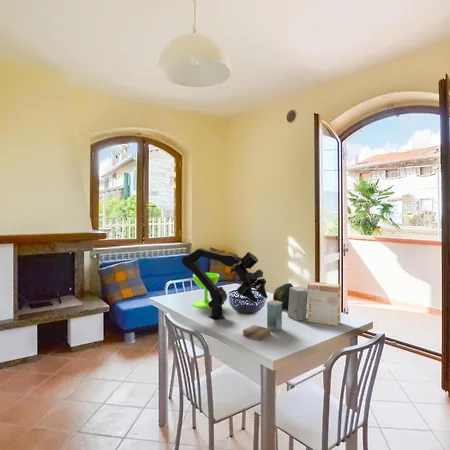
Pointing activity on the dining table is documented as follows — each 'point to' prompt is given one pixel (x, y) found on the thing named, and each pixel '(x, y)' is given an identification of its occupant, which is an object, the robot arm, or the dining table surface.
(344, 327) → the dining table surface
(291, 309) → the skincare box
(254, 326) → the walnut block
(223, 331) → the dining table surface
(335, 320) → the coffeecake box
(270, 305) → the tea tin
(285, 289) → the squash
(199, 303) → the wineglass
